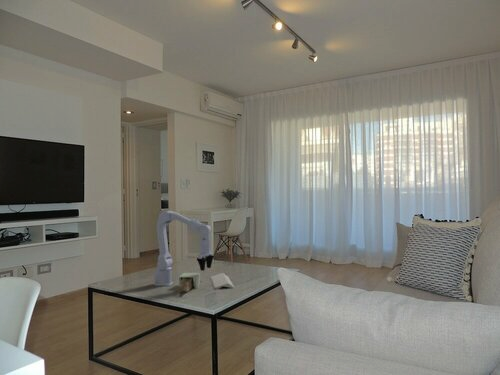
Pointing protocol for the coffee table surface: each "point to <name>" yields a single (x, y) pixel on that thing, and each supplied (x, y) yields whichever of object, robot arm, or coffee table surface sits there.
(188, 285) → the brown rectangular box
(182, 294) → the rail
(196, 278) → the tunnel
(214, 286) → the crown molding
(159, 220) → the robot arm
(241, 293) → the coffee table surface
